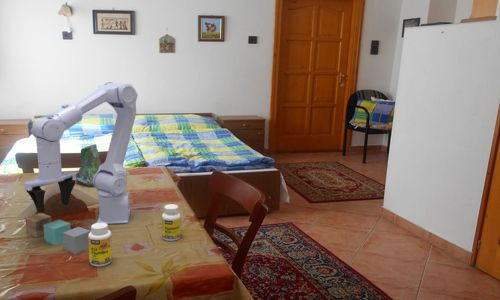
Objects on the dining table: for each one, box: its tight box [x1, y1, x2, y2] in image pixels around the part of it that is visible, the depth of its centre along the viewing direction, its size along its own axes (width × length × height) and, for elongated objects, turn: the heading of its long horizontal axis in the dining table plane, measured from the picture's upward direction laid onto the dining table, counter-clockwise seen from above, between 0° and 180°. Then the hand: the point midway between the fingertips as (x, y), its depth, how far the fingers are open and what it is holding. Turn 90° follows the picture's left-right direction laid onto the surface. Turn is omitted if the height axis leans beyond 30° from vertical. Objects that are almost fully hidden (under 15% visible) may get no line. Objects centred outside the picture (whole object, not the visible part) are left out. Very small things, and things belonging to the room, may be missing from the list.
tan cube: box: [24, 212, 53, 238], centre depth 125 cm, size 5×5×5 cm
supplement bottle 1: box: [88, 222, 113, 267], centre depth 108 cm, size 6×6×10 cm
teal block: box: [43, 219, 72, 246], centre depth 121 cm, size 5×5×5 cm
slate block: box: [63, 226, 91, 255], centre depth 116 cm, size 5×5×5 cm
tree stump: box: [75, 144, 113, 188], centre depth 175 cm, size 18×20×18 cm
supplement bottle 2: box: [161, 203, 182, 242], centre depth 124 cm, size 5×5×10 cm
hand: (53, 208), depth 120 cm, fingers open, 7 cm apart
